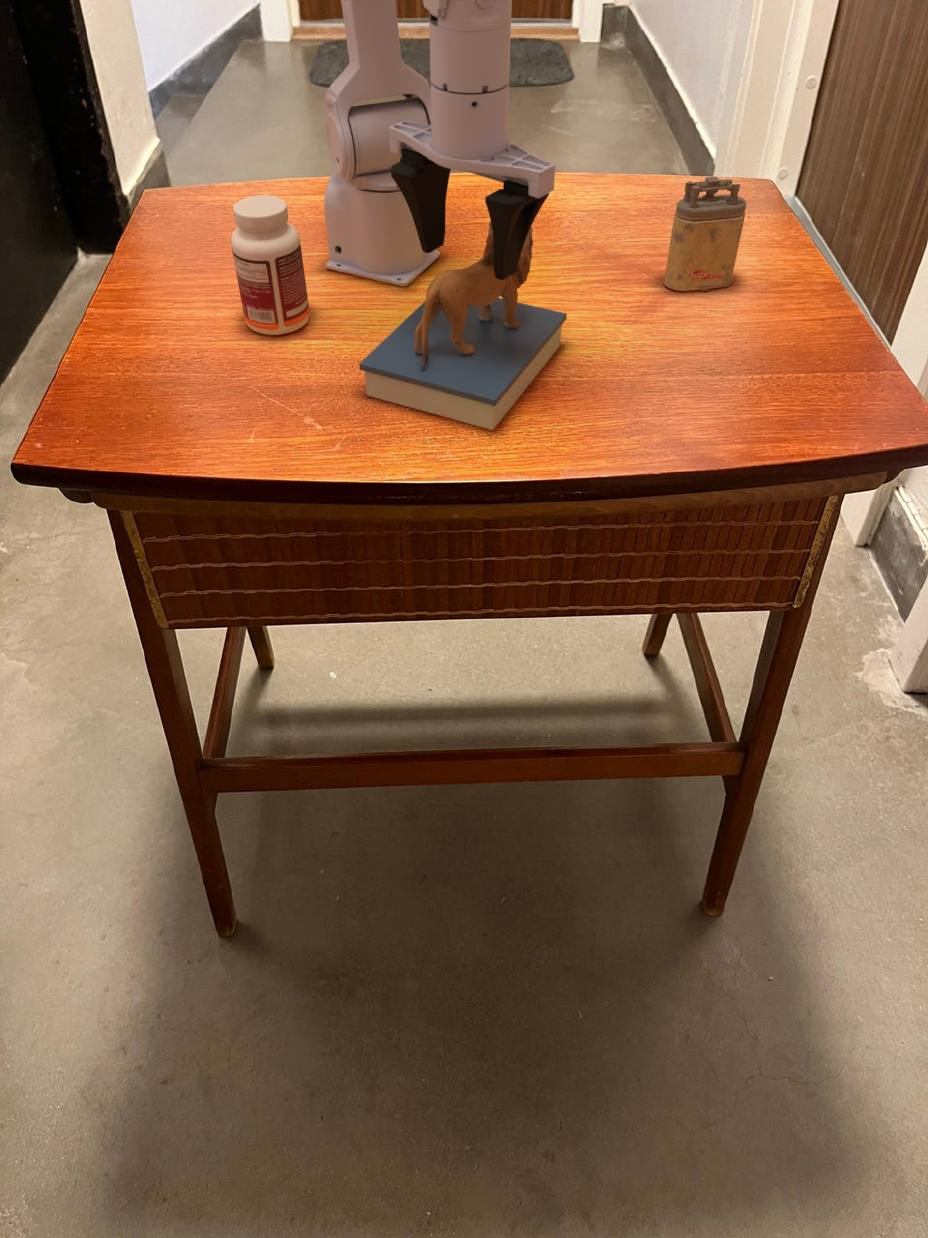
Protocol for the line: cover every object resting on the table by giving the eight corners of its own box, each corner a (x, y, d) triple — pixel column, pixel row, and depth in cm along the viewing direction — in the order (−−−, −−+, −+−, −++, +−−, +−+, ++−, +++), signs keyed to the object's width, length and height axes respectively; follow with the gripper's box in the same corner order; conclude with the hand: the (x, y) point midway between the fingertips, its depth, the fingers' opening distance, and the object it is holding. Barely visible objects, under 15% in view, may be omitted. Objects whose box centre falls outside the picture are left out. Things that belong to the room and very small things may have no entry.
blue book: (361, 396, 85) (358, 363, 82) (442, 315, 94) (442, 284, 92) (494, 433, 81) (495, 400, 78) (564, 345, 91) (567, 313, 88)
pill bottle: (301, 300, 96) (287, 186, 89) (317, 330, 92) (303, 214, 84) (239, 311, 95) (218, 196, 87) (252, 342, 91) (232, 224, 83)
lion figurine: (494, 293, 91) (497, 195, 84) (543, 309, 89) (550, 210, 82) (397, 362, 82) (392, 259, 76) (449, 382, 80) (448, 277, 74)
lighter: (723, 271, 101) (743, 171, 94) (738, 288, 98) (760, 187, 91) (658, 277, 100) (673, 177, 93) (671, 295, 97) (687, 193, 90)
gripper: (584, 87, 70) (569, 268, 80) (427, 48, 76) (431, 221, 86) (526, 114, 66) (518, 301, 76) (367, 71, 73) (378, 249, 82)
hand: (468, 261), depth 81 cm, fingers open, 7 cm apart
